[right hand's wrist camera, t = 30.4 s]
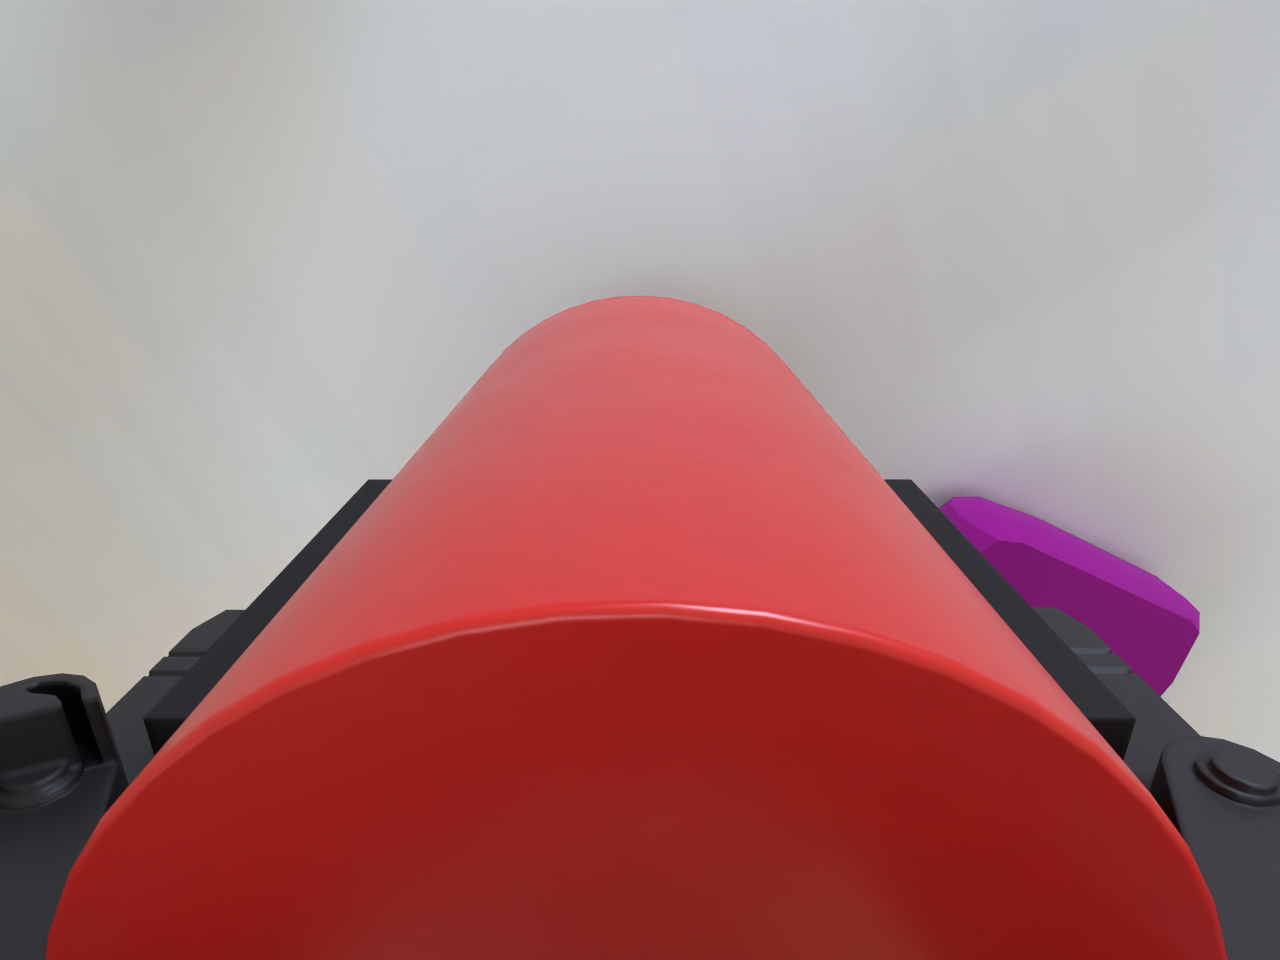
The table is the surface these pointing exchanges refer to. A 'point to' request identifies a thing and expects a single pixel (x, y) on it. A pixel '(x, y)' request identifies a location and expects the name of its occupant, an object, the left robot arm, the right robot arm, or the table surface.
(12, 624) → the table surface
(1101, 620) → the spray bottle
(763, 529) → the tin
